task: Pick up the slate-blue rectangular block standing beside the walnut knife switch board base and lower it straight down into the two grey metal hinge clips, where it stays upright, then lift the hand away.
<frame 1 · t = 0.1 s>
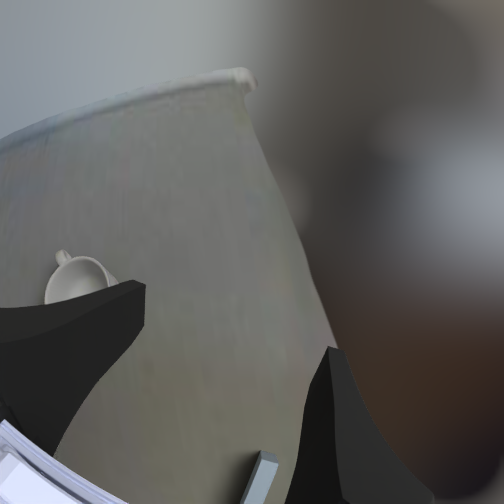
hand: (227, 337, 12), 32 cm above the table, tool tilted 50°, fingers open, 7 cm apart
teacup: (96, 301, 45), on the table
rectangular block: (255, 484, 34), on the table
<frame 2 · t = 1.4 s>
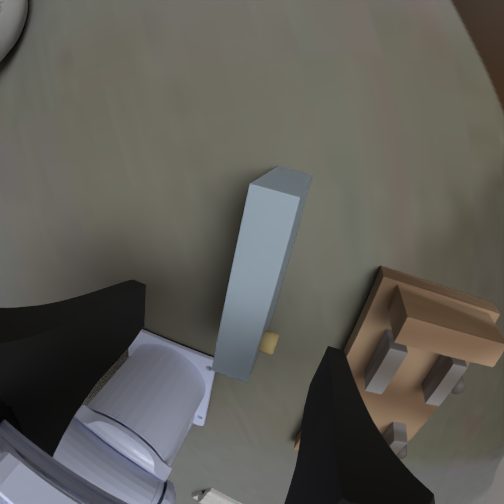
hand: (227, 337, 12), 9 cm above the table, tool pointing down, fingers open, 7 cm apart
teacup: (8, 19, 18), on the table
knife switch board: (386, 385, 22), on the table
rectangular block: (275, 248, 20), on the table
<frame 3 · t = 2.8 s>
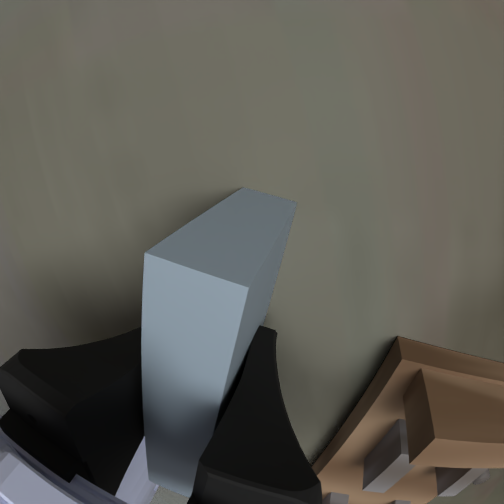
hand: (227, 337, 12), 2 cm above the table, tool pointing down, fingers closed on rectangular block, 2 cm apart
knife switch board: (390, 463, 15), on the table
rectangular block: (242, 310, 13), on the table, touching gripper
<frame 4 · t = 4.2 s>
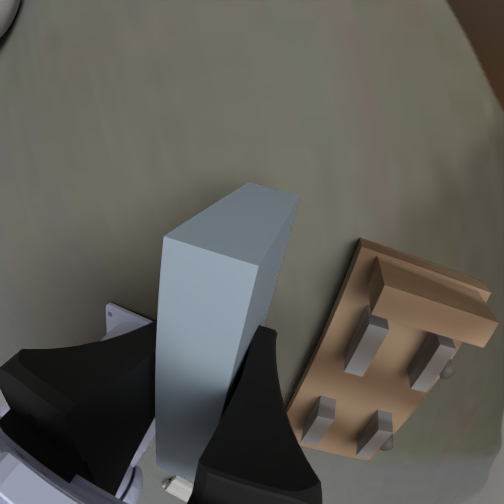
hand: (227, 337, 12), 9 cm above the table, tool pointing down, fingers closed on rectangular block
teacup: (3, 5, 17), on the table
knife switch board: (370, 371, 21), on the table
rectangular block: (247, 299, 14), point 6 cm above the table, touching gripper
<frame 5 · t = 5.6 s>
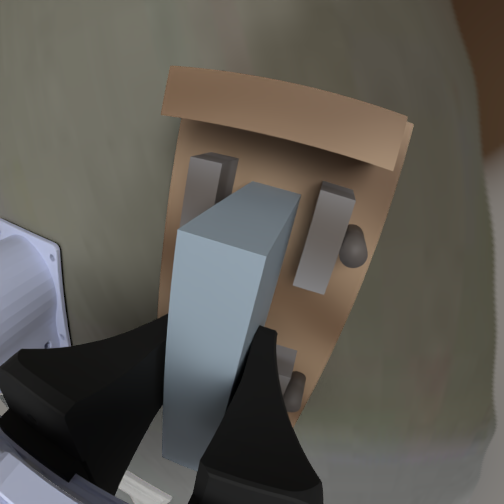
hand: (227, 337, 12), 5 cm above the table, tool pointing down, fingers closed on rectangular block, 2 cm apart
knife switch board: (257, 280, 16), on the table
rectangular block: (250, 294, 15), point 1 cm above the table, touching knife switch board, gripper
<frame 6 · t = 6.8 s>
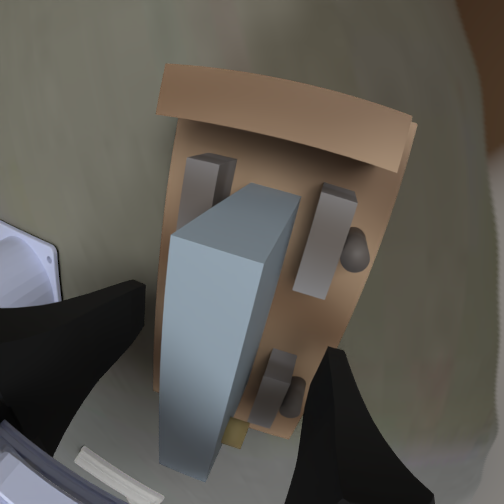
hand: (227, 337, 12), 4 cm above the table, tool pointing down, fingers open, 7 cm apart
knife switch board: (256, 284, 16), on the table
rectangular block: (249, 298, 14), point 1 cm above the table, touching knife switch board
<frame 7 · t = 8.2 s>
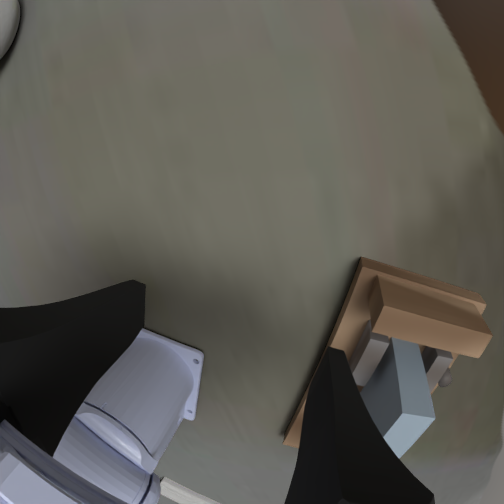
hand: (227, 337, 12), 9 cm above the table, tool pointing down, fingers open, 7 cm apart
teacup: (2, 25, 19), on the table
knife switch board: (373, 379, 22), on the table
rectangular block: (374, 392, 21), point 1 cm above the table, touching knife switch board
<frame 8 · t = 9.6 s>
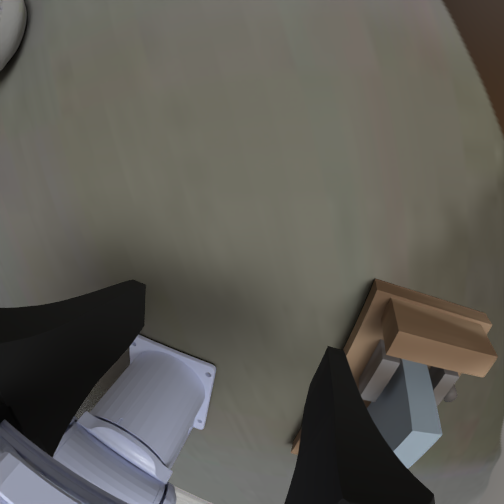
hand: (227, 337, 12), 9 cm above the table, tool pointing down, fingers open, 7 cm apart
teacup: (7, 27, 19), on the table
knife switch board: (380, 392, 22), on the table
rectangular block: (381, 406, 21), point 1 cm above the table, touching knife switch board
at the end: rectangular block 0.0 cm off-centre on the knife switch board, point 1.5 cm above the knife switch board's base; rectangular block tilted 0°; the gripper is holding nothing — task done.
